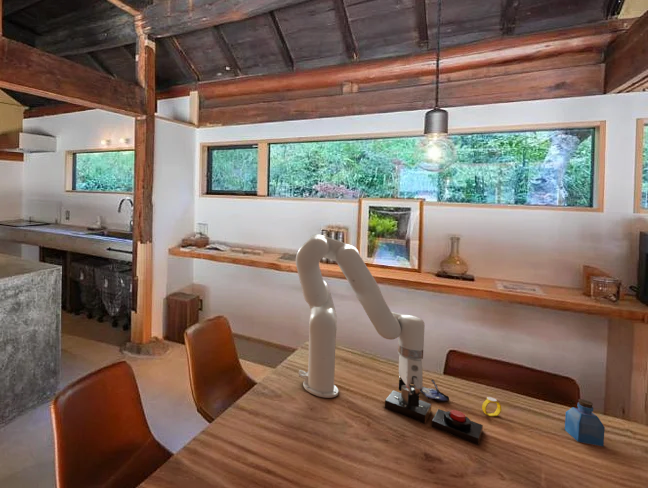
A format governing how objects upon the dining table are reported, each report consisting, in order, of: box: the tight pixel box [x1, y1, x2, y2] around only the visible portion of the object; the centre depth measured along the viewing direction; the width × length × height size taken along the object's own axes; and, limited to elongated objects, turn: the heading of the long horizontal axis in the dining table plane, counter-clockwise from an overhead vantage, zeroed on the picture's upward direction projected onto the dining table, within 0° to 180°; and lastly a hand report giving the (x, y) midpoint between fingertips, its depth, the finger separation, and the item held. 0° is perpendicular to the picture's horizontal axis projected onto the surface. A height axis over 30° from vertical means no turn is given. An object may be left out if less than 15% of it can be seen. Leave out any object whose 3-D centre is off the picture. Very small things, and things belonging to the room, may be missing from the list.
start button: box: [449, 409, 466, 422], centre depth 130 cm, size 4×4×2 cm
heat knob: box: [400, 385, 414, 405], centre depth 140 cm, size 4×4×5 cm
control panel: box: [384, 389, 432, 425], centre depth 140 cm, size 12×10×3 cm
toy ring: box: [481, 396, 502, 417], centre depth 138 cm, size 6×3×6 cm, turn 93°
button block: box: [431, 408, 484, 446], centre depth 130 cm, size 12×10×4 cm
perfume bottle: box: [564, 398, 606, 447], centre depth 126 cm, size 6×6×12 cm
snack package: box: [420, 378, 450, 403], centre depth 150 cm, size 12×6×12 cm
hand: (408, 398), depth 140 cm, fingers open, 9 cm apart
